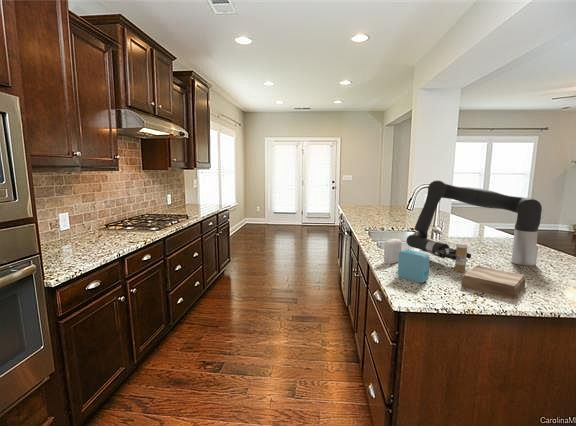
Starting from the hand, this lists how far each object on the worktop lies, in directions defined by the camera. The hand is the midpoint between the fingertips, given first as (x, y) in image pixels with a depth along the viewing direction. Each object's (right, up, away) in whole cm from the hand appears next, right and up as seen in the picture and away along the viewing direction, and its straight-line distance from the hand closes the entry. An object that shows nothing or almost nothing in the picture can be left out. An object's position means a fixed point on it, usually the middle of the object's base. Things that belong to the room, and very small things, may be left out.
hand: (463, 257), depth 144 cm
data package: (-27, -9, -8) cm, 30 cm away
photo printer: (-28, -5, +16) cm, 33 cm away
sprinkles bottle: (0, -7, +2) cm, 7 cm away
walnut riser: (+2, -10, -18) cm, 20 cm away
